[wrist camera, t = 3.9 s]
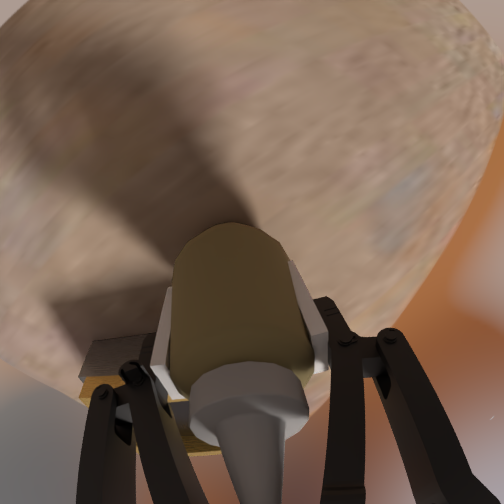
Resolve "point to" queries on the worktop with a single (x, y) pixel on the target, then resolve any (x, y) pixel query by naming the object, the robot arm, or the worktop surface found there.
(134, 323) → the worktop surface
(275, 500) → the squeeze bottle
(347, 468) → the robot arm
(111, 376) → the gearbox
